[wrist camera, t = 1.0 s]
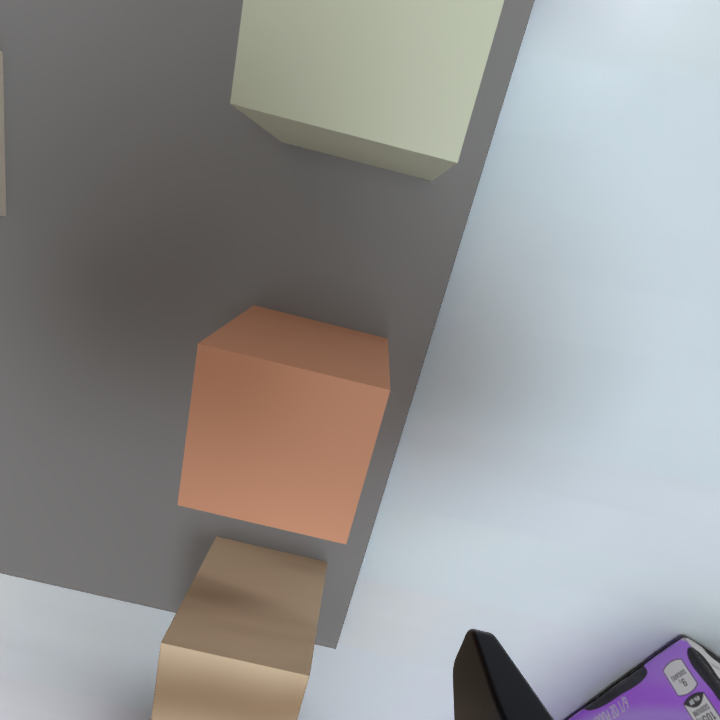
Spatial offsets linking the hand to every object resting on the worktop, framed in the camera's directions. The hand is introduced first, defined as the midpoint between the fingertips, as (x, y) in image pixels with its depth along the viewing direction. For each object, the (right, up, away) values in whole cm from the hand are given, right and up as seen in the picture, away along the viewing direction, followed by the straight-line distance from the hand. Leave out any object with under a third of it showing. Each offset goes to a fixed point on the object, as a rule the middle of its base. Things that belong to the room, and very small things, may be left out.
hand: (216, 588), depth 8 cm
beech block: (-2, -7, +12) cm, 14 cm away
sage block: (+3, +13, +6) cm, 14 cm away
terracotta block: (+1, +3, +9) cm, 10 cm away
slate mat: (-6, +5, +9) cm, 12 cm away
